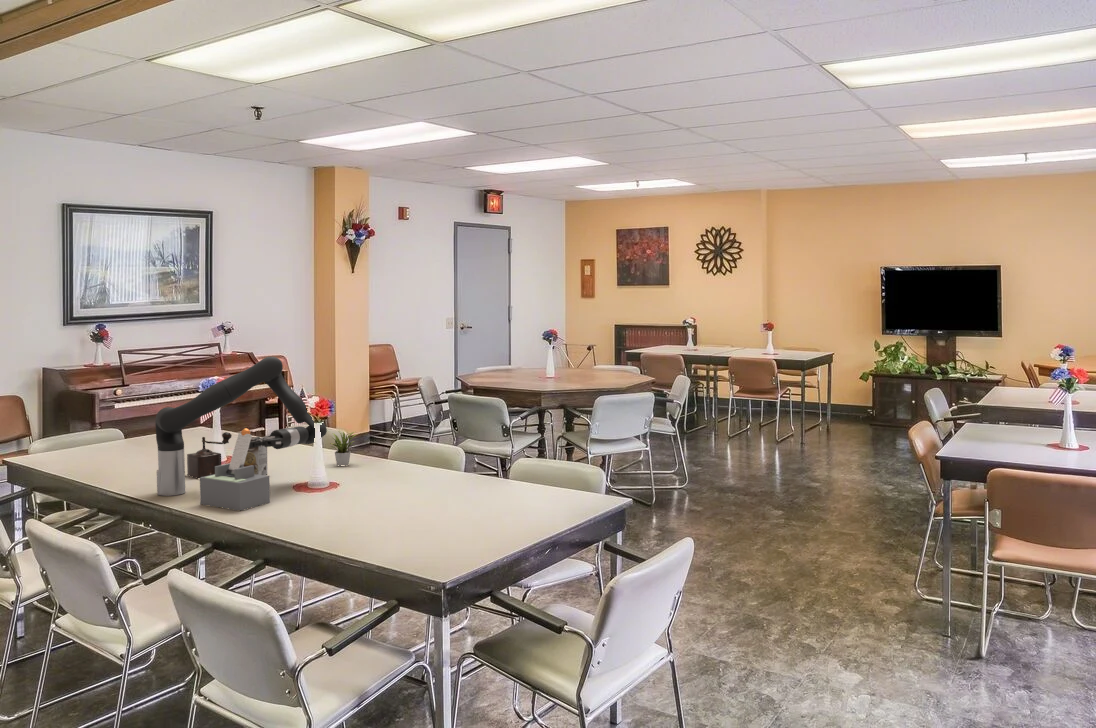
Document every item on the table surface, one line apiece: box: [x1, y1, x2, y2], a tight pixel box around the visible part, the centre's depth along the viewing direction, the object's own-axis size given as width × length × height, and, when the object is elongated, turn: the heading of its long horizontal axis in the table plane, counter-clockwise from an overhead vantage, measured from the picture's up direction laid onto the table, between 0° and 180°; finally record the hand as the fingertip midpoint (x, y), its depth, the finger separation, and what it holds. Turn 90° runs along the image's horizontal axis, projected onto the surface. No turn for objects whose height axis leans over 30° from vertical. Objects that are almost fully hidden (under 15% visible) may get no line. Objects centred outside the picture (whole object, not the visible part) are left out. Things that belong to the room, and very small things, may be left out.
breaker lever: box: [226, 427, 253, 476], centre depth 299 cm, size 3×6×18 cm, turn 64°
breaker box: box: [199, 462, 271, 511], centre depth 297 cm, size 14×20×14 cm
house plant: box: [329, 431, 358, 467], centre depth 367 cm, size 14×14×16 cm
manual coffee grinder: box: [186, 431, 232, 479], centre depth 346 cm, size 16×11×18 cm
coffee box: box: [243, 436, 269, 476], centre depth 345 cm, size 9×6×16 cm
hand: (250, 444), depth 303 cm, fingers closed
